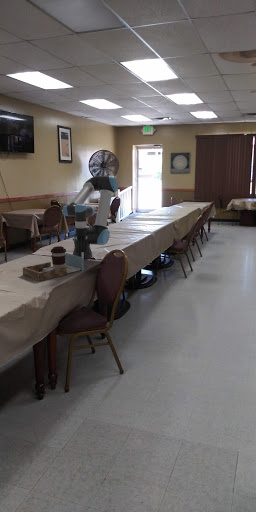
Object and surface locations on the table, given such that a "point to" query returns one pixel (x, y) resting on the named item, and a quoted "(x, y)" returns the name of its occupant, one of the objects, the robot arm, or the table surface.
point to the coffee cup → (58, 257)
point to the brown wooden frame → (37, 273)
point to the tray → (71, 263)
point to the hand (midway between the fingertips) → (81, 261)
